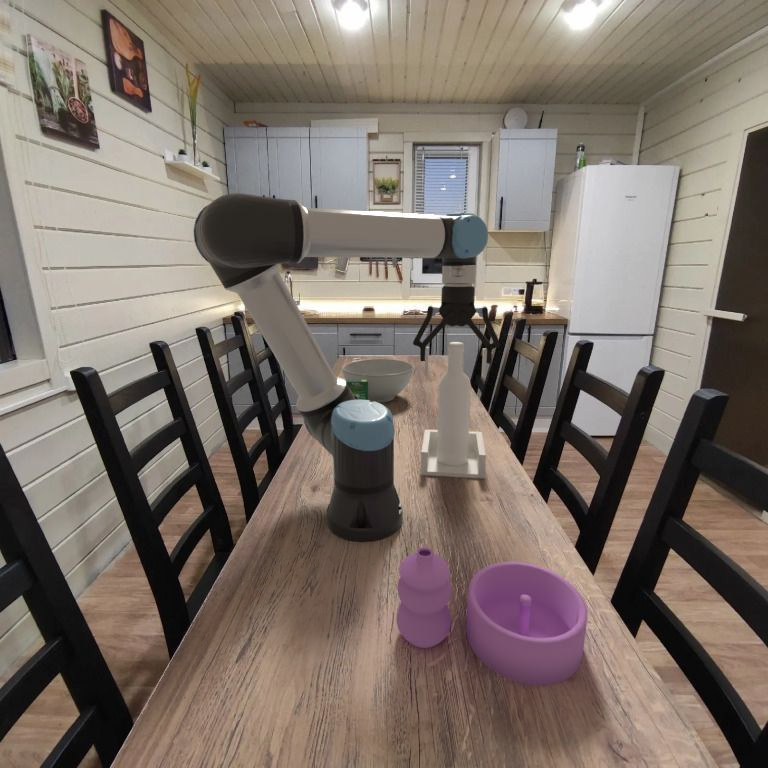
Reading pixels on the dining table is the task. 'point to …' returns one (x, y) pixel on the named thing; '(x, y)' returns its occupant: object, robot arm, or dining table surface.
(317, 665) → the dining table surface
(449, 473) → the bottle rest
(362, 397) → the coffee box
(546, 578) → the container set
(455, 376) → the bottle
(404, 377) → the decorative bowl
